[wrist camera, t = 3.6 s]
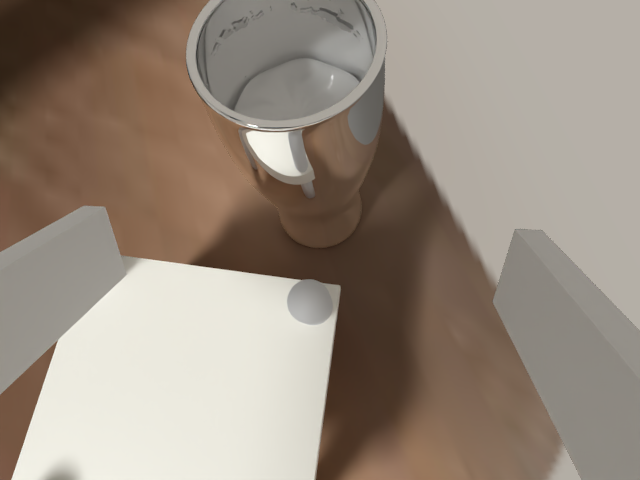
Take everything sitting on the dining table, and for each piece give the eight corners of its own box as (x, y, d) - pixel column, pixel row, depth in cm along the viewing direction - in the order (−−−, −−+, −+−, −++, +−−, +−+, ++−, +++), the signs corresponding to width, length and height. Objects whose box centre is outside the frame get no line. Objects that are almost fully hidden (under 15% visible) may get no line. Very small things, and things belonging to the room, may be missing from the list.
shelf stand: (107, 482, 22) (-69, 585, 12) (162, 276, 25) (56, 240, 16) (313, 526, 20) (284, 681, 11) (342, 302, 23) (339, 278, 14)
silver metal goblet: (354, 156, 26) (361, -62, 12) (379, 241, 24) (423, 101, 10) (265, 178, 27) (167, -13, 12) (283, 265, 25) (192, 159, 10)
